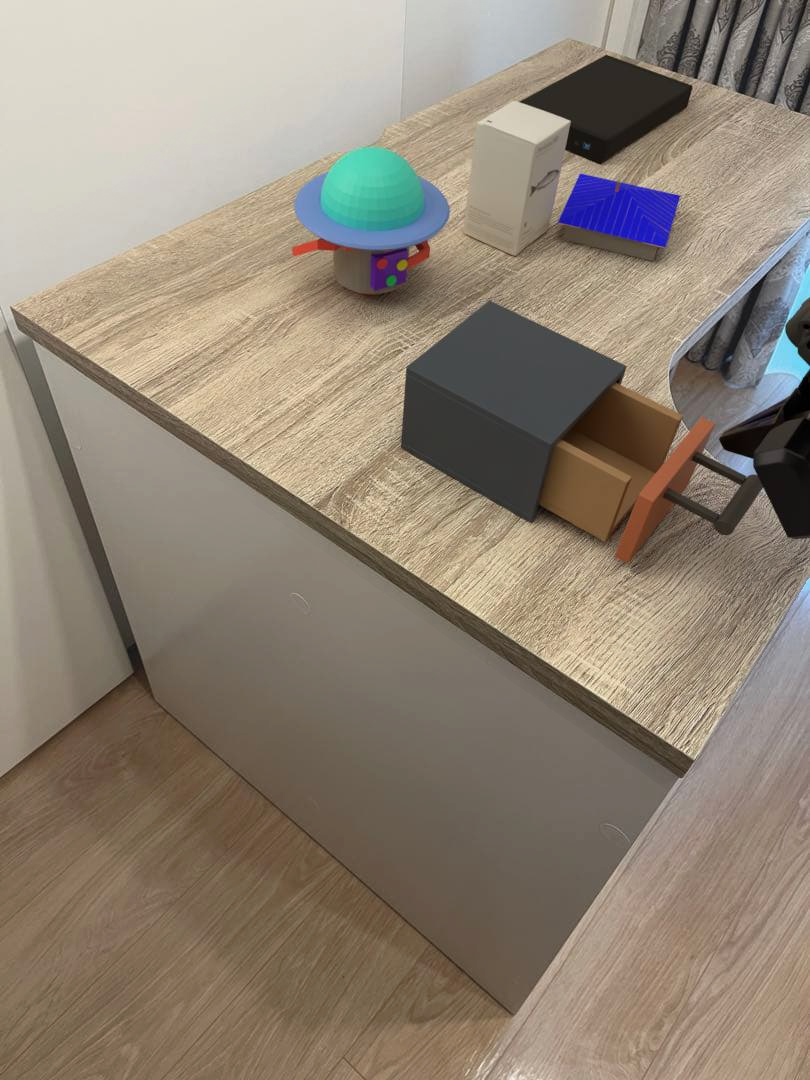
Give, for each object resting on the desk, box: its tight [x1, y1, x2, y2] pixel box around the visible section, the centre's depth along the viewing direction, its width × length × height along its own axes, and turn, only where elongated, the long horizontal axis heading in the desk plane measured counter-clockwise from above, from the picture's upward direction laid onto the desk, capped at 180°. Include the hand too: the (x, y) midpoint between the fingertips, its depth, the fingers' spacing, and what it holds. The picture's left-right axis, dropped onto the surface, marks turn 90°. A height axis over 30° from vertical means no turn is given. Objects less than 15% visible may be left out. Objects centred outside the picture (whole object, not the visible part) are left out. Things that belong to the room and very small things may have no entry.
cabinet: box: [400, 300, 627, 524], centre depth 72 cm, size 13×12×9 cm
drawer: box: [539, 382, 764, 564], centre depth 68 cm, size 18×11×7 cm, turn 53°
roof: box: [557, 173, 681, 262], centre depth 98 cm, size 12×12×5 cm
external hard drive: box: [519, 54, 694, 165], centre depth 117 cm, size 14×23×3 cm, turn 140°
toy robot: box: [292, 146, 451, 296], centre depth 84 cm, size 15×15×14 cm
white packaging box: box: [462, 100, 571, 257], centre depth 93 cm, size 7×7×13 cm
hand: (723, 441), depth 61 cm, fingers closed
